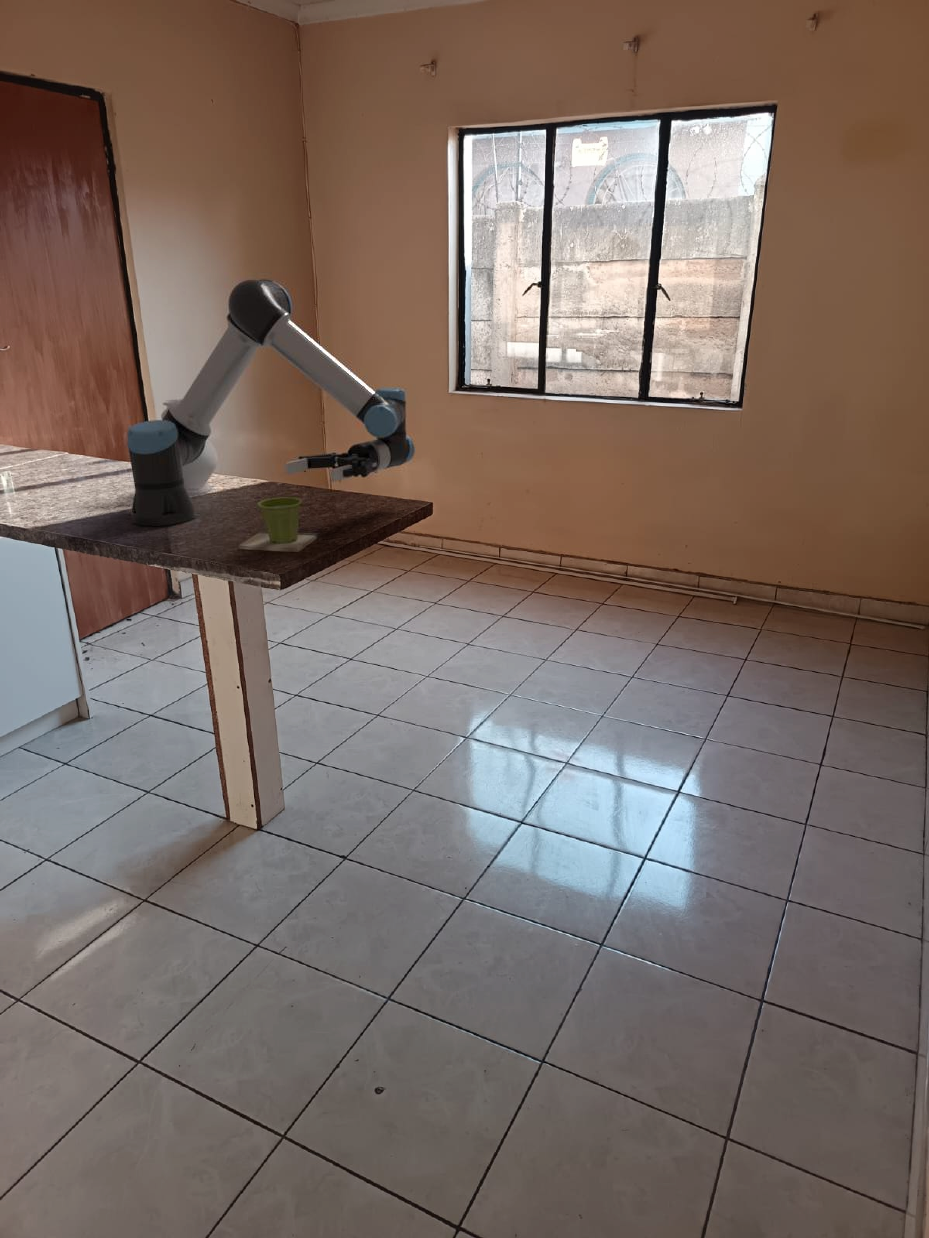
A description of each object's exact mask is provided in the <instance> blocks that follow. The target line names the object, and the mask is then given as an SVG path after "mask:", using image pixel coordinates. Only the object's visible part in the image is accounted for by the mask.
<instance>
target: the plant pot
mask: <svg viewBox="0 0 929 1238" xmlns="http://www.w3.org/2000/svg"><path fill="white" fill-rule="evenodd" d="M301 504H302V500H301V499H300V498H296V497H288V496H287V497H283V496H282V497H275V498H272V497H271V498H268V499H263V500H261V501H259V502H258V503H257V506H258V507H260V510H261V513H262V514H263V517H264V518H263V519H264V521H265V522H264V523H265V526H266V531H268V535H269V538H270V541H271V542H274V541H275V542H277V543H288V542H291V541H292V540H297V538H298V532H299V530H298V529H299V510H300V508H301V506H300V505H301Z"/></svg>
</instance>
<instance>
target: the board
mask: <svg viewBox="0 0 929 1238" xmlns="http://www.w3.org/2000/svg"><path fill="white" fill-rule="evenodd" d="M318 538H320V534H319V532H318V533H317V532H299V531H298V538H297V540H292V541H291V542H288V543H277V542H275V541H274V542H271V541H270V538H269V535H268V530H261V531H260V532H258V533H257V534H255V535H253V536H252V537H250V538H248V539H247V540H246V541H244V542H242V543H240V544H239V545H238V550H251V551H252V550H253V551H269V552H270V551H271V552H288V553H289V552H292V553H299V552H300V551H302V550H303V549H305V548H306V547H307V546H309V545H310V544H312V543H313V542H314V541H315V540H317V539H318Z"/></svg>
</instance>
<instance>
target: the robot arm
mask: <svg viewBox="0 0 929 1238" xmlns="http://www.w3.org/2000/svg"><path fill="white" fill-rule="evenodd" d="M228 311H229V312H228V314H227V316H226V322H227V329H226V330H225V332H224V333H223V335H222V336H221V337H220V340H219V341H218V343H217V344H216V346H215V347H214V349H213V351H212V352H211V353H210V355H209V357H208V359H207V360H206V362H205V363H204V365H203V366H202V368H201V369H200V371H199V373H198V374H197V376H196V377H195V379H194V380H193V382H192V384H191V385H190V387H189V389H188V390H187V392H186V393H185V394H184V396H183V398H182V401H181V403H180V404H178V405H172V406H170V408H169V409H168V411H167V413H166V414H165V416H164V417H163V419H162V418H161V419H154V420H146V421H143V422H138V423H135V424H134V425H131V426H130V427H129V428H128V429H127V431H126V437H127V439H126V445H127V446H126V447H127V449H128V453H129V454H128V455H129V459H130V460H129V461H130V466H131V473H132V478H133V485H134V497H133V501H132V505H131V506H132V507H131V519H132V522H133V523H134V524H135V525H138V526H144V527H159V526H160V527H161V526H163V527H164V526H171V525H176V524H181V523H186V522H188V521H191V520H193V519H195V517H196V515H197V514H196V508H195V505H194V503H193V501H192V499H191V497H190V496H189V495H188V493H187V491H186V488H185V486H184V479H183V472H182V466H184V465H186V464H189V463H191V462H193V461H194V460H196V459H197V458H198V457H199V456H200V455H201V453H202V452H203V450H204V448H205V444H206V440H207V439H208V438H209V437H210V435H211V433H212V430H211V426H210V424H211V422H212V421H213V419H214V418H215V416H216V415H217V413H218V412H219V410H220V408H221V407H222V406H223V404H224V403H225V401H226V399H227V397H228V396H229V395H230V393H231V392H232V390H233V388H235V385H236V384H237V383H238V382H239V379H240V378H241V376H243V373H244V372H245V370H246V369H247V368H248V366H249V364H250V363H251V361H252V360H253V358H254V356H255V355H256V353H258V350H260V349H263V348H271V349H273V350H274V351H276V353H278V354H279V355H280V356H281V357H282V358H284V359H285V360H286V361H287V362H289V364H291V365H292V366H293V367H294V368H296V369H297V370H298V371H300V372H301V373H302V374H303V375H305V377H307V378H308V379H309V380H310V381H311V382H313V383H314V384H315V385H316V386H317V387H318V388H321V390H322V391H324V392H325V393H326V394H328V395H329V397H331V398H332V399H334V401H336V402H337V403H338V404H340V405H341V406H342V407H343V408H345V410H347V411H348V412H349V413H350V414H351V415H353V416H354V417H355V418H356V419H358V420H359V421H360V422H361V423H362V424H364V427H365V430H366V431H367V432H368V433H369V434H370V435H371V436H373V437H376V439H372V440H369V441H364V442H360V443H356V444H352V445H351V446H350V447H349V449H348V451H347V452H342V453H337V452H331V453H324V454H315V455H314V454H313V455H303V456H302V455H300V456H298V459H297V460H293V461H292V460H291V461H287V462H285V463H284V464H285V474H286V475H287V476H290V475H293V474H297V473H301V472H303V473H307V471H308V470H309V469H310V470H311V469H326V468H327V469H328V468H331V469H330V482H333V483H334V482H335V483H336V482H338V481H343V480H345V479H349V478H353V477H354V478H357V477H359V476H360V477H362V478H366V477H368V475H370V474H371V473H374V474H377V473H378V472H379V471H381V470H386V469H389V468H394V467H399V466H402V465H405V464H406V463H408V462H410V461H411V460H412V459H413V457H414V455H415V452H416V451H415V444H414V442H413V440H412V438H411V437H410V436H409V435H407V430H406V428H407V426H406V425H407V424H406V423H407V421H406V420H407V419H406V417H407V414H406V411H407V410H406V408H407V407H406V404H407V400H406V392H405V390H404V389H403V388H400V387H380V388H378V389H376V390H374V389H372V387H371V386H369V385H368V384H367V383H366V382H365V381H363V380H362V379H361V378H359V377H358V376H357V375H356V374H355V373H354V372H353V371H351V369H349V368H348V367H346V365H344V364H343V363H342V362H340V361H339V360H338V359H337V358H336V357H335V356H334V355H332V354H331V353H330V352H329V351H327V350H326V349H325V348H324V347H323V346H321V344H319V343H318V342H316V340H314V339H313V337H311V336H309V335H308V334H307V333H306V332H305V331H304V330H303V329H301V328H300V327H299V326H298V325H297V324H296V323H294V322H293V321H292V320H291V317H292V313H293V302H292V299H291V297H290V294H289V293H288V291H287V290H286V288H284V286H282V285H281V284H279V283H277V282H275V281H273V280H271V279H267V278H262V279H261V278H260V279H246V280H243V281H241V282H239V283H238V284H236V286H234V287H233V289H232V290H231V292H230V294H229V297H228ZM336 464H337V465H336ZM133 523H132V524H133Z"/></svg>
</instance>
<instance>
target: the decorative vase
mask: <svg viewBox="0 0 929 1238" xmlns="http://www.w3.org/2000/svg"><path fill="white" fill-rule="evenodd" d="M182 399H183V398H182ZM182 399H178V398H177V399H168V400H163V401H162V405H163V406H166V408H165V409H164V410H163V412H162V413H161V415H160V416H161V420H162V419H163V417H164V416H165V414H166V413H167V411H168V409H169V408H170V406H172V405H178V404H180V403H181V401H182ZM218 463H219V457H218V452H217V450H216V448H215V446H214V445H213V443H212V442H211V440H210V439H208V438H207V440H206V444H205V448H204V450H203V452H202V453H201V455H200V456H199V457H198V458H197V459H196V460H194V461H193V462H191V463H189V464H186V465H184V466H182V472H183V479H184V486H185V488H186V491H187V493H188V495H189V497H190V496H197V495H198V496H199V495H202V494H207V493H209V492H211V491H213V486H212V485H210V484H206V483H207V482H208V481H209V479H210V478H211V476H212V475H213V474H214V471H215V470H216V468H217V466H218Z"/></svg>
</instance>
